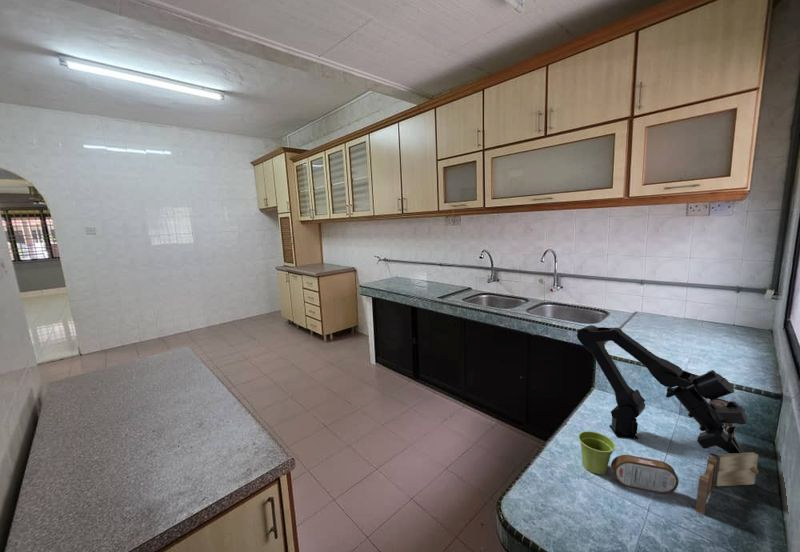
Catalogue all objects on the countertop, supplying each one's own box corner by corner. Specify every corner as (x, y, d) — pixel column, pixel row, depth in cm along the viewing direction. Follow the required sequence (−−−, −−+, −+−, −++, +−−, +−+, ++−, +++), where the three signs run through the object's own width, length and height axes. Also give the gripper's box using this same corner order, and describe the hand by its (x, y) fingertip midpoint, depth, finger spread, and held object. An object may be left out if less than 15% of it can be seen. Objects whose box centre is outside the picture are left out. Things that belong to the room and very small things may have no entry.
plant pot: (620, 473, 95) (623, 446, 94) (598, 483, 91) (600, 455, 90) (590, 453, 103) (592, 428, 102) (569, 461, 100) (571, 435, 99)
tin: (673, 490, 88) (676, 461, 87) (679, 499, 86) (682, 469, 84) (609, 477, 93) (611, 450, 92) (612, 485, 90) (614, 457, 89)
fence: (703, 514, 81) (708, 482, 79) (695, 510, 82) (699, 478, 81) (713, 490, 88) (717, 459, 87) (705, 486, 89) (708, 456, 88)
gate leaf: (713, 490, 88) (717, 460, 86) (703, 482, 91) (706, 453, 89) (759, 487, 88) (764, 458, 87) (747, 479, 91) (751, 451, 90)
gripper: (719, 406, 86) (775, 467, 79) (731, 385, 98) (781, 437, 91) (677, 419, 93) (725, 477, 87) (693, 398, 105) (736, 448, 98)
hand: (743, 459), depth 90 cm, fingers closed
